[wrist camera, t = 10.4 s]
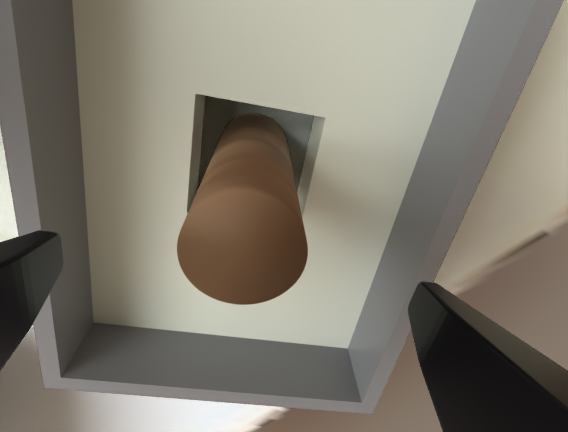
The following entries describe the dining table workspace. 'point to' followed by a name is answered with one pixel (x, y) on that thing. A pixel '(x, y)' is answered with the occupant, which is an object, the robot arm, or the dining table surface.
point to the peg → (245, 218)
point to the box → (311, 192)
